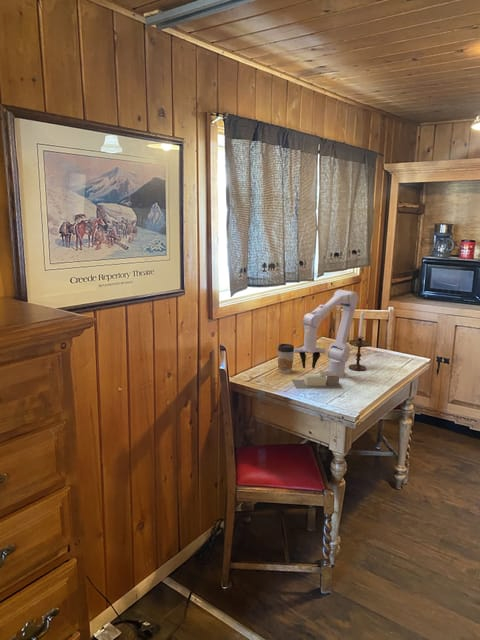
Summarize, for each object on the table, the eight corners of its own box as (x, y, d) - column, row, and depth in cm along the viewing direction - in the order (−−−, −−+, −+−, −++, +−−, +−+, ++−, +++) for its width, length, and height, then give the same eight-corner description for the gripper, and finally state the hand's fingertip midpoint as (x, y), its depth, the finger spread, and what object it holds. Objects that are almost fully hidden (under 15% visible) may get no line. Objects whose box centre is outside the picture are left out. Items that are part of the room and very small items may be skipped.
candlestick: (352, 372, 253) (358, 305, 245) (343, 365, 263) (349, 301, 255) (371, 371, 255) (377, 305, 247) (362, 365, 265) (368, 301, 258)
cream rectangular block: (304, 382, 230) (304, 374, 230) (322, 382, 231) (323, 374, 230) (306, 385, 226) (307, 377, 225) (325, 385, 226) (326, 377, 226)
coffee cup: (274, 375, 243) (275, 346, 240) (279, 370, 251) (280, 342, 247) (290, 378, 240) (292, 348, 237) (294, 373, 248) (296, 344, 244)
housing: (291, 382, 234) (291, 371, 233) (335, 382, 236) (336, 371, 235) (296, 391, 222) (296, 380, 221) (343, 391, 224) (344, 380, 223)
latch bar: (320, 374, 229) (320, 371, 228) (334, 374, 229) (334, 371, 229) (321, 375, 227) (321, 372, 226) (335, 375, 227) (336, 372, 227)
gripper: (296, 341, 219) (294, 370, 222) (328, 341, 220) (326, 370, 223) (293, 337, 226) (291, 365, 229) (324, 338, 227) (322, 365, 230)
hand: (308, 367), depth 226 cm, fingers open, 4 cm apart
